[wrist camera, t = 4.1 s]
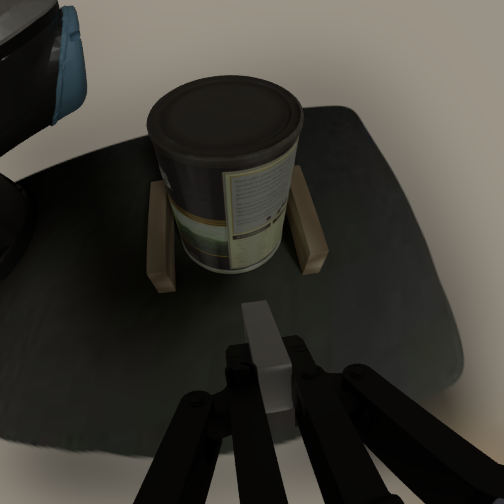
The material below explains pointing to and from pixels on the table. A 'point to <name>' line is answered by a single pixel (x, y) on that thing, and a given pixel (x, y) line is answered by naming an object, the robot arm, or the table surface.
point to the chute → (298, 214)
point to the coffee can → (227, 166)
